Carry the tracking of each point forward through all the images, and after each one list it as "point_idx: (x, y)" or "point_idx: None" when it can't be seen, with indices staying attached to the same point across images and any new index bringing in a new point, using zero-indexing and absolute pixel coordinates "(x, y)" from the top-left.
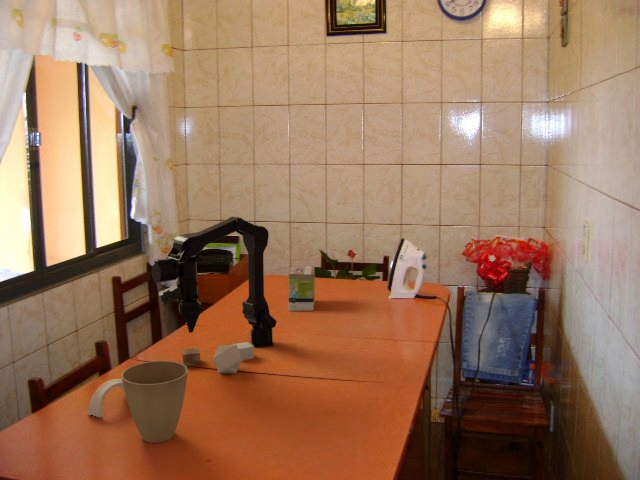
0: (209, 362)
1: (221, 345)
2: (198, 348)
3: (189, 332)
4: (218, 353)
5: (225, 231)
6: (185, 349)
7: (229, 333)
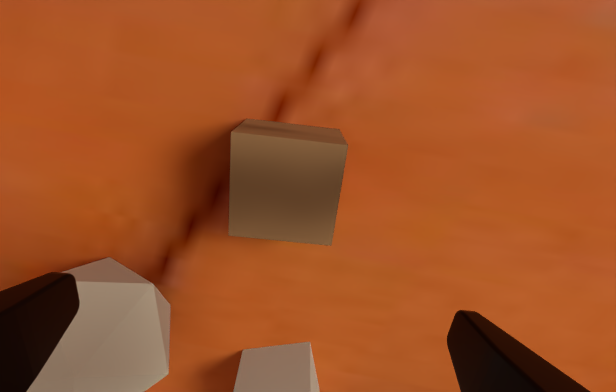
0: (268, 248)
1: (62, 386)
2: (319, 243)
3: (53, 274)
4: None
5: None
6: (334, 166)
7: (605, 385)
